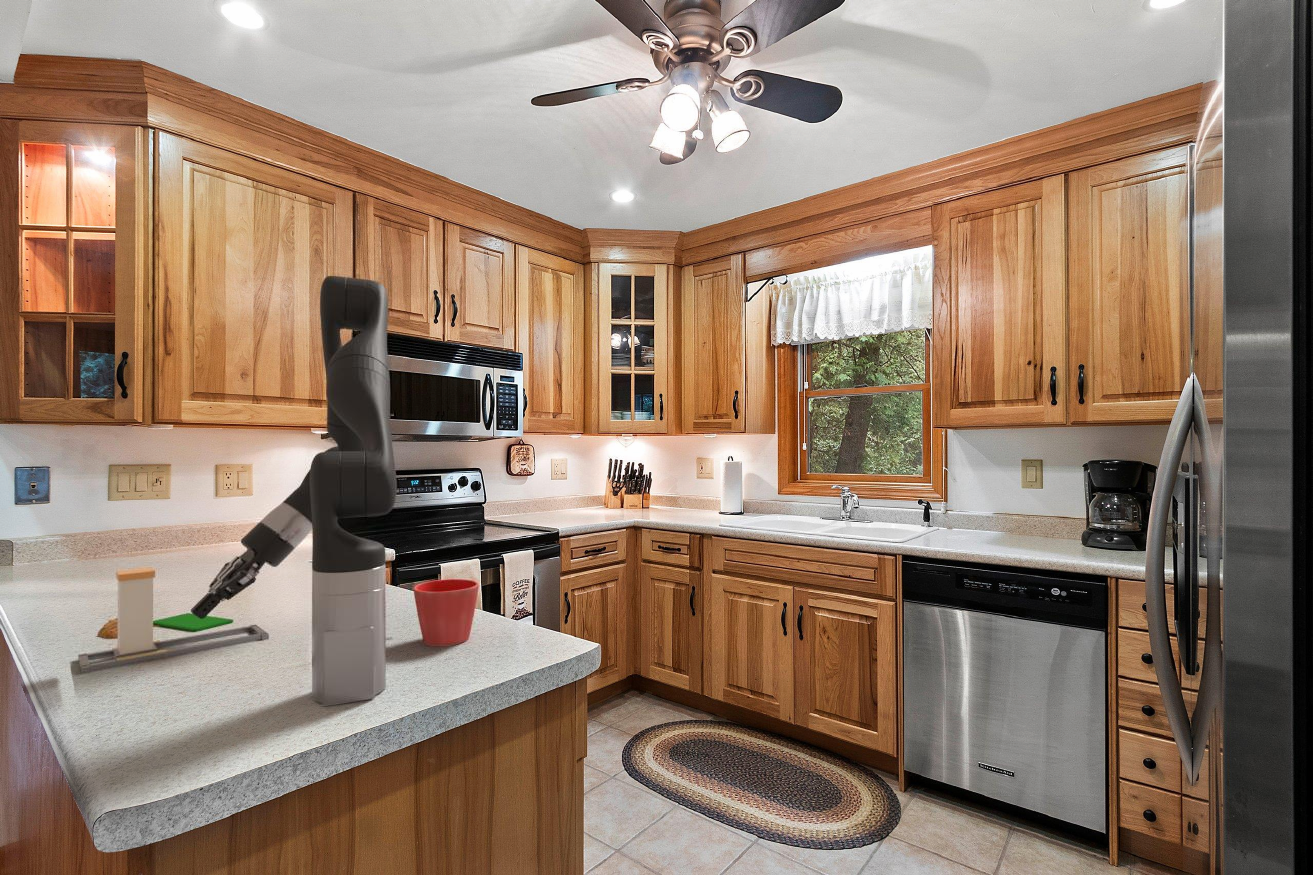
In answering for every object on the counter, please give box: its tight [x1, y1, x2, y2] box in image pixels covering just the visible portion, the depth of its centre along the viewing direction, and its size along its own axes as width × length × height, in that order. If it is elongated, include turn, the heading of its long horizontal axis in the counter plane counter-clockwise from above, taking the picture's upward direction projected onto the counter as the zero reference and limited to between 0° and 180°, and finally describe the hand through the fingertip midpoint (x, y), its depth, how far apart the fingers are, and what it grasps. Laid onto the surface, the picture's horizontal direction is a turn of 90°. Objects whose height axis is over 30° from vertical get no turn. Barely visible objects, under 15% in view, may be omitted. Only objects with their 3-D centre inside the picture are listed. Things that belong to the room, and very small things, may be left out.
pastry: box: [96, 617, 118, 640], centre depth 116 cm, size 9×7×4 cm
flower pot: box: [413, 578, 480, 647], centre depth 113 cm, size 11×11×10 cm
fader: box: [112, 567, 158, 660], centre depth 102 cm, size 5×5×13 cm
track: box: [77, 624, 270, 675], centre depth 105 cm, size 24×9×2 cm, turn 134°
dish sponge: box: [153, 612, 234, 632], centre depth 121 cm, size 7×14×2 cm, turn 66°
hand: (195, 615), depth 107 cm, fingers closed
